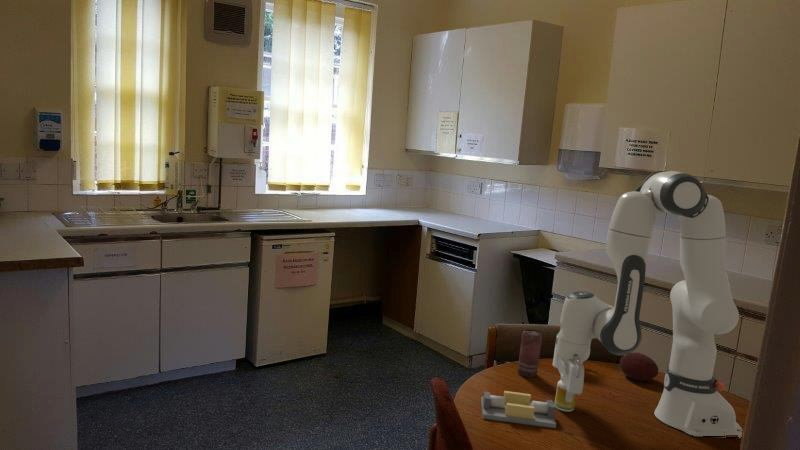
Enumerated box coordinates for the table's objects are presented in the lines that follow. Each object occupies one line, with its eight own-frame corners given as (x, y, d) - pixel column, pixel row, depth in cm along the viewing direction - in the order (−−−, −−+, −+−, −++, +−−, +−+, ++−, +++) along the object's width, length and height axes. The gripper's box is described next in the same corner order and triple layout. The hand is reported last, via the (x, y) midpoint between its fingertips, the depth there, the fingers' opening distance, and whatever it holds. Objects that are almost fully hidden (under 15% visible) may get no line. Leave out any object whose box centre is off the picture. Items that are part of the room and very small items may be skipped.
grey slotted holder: (549, 409, 169) (551, 395, 169) (555, 428, 159) (557, 413, 158) (481, 400, 171) (482, 386, 170) (482, 418, 160) (484, 403, 159)
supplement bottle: (574, 413, 168) (579, 380, 167) (554, 410, 169) (559, 377, 168) (573, 405, 174) (578, 373, 172) (553, 402, 175) (558, 370, 173)
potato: (614, 369, 206) (617, 346, 205) (647, 373, 206) (651, 349, 204) (625, 383, 194) (629, 358, 193) (660, 387, 194) (664, 362, 193)
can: (513, 370, 196) (518, 328, 194) (530, 370, 198) (536, 328, 196) (522, 378, 190) (528, 335, 188) (540, 377, 192) (546, 335, 190)
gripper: (592, 364, 158) (585, 413, 161) (577, 338, 179) (570, 382, 181) (568, 361, 159) (560, 410, 161) (555, 335, 179) (549, 380, 181)
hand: (565, 395), depth 171 cm, fingers closed on supplement bottle, 5 cm apart
